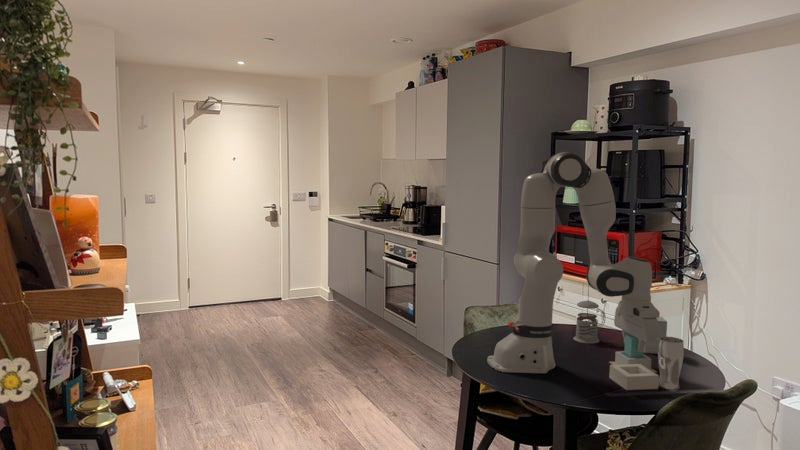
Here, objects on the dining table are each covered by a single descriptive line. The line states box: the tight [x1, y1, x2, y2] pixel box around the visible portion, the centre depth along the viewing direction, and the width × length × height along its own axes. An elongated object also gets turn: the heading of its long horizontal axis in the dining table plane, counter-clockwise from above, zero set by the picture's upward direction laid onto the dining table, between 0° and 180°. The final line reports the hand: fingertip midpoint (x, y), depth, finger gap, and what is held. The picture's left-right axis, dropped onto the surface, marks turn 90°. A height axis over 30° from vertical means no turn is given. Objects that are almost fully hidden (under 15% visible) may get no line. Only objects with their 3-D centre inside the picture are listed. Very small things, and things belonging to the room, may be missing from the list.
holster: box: [608, 350, 658, 373], centre depth 184 cm, size 11×11×5 cm
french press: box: [573, 285, 606, 344], centre depth 215 cm, size 10×12×25 cm
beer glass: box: [657, 336, 685, 393], centre depth 167 cm, size 7×7×15 cm
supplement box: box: [643, 316, 668, 355], centre depth 201 cm, size 7×7×13 cm
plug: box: [623, 334, 644, 358], centre depth 183 cm, size 4×4×10 cm
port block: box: [608, 364, 660, 394], centre depth 169 cm, size 10×10×5 cm
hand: (633, 347), depth 183 cm, fingers open, 6 cm apart
